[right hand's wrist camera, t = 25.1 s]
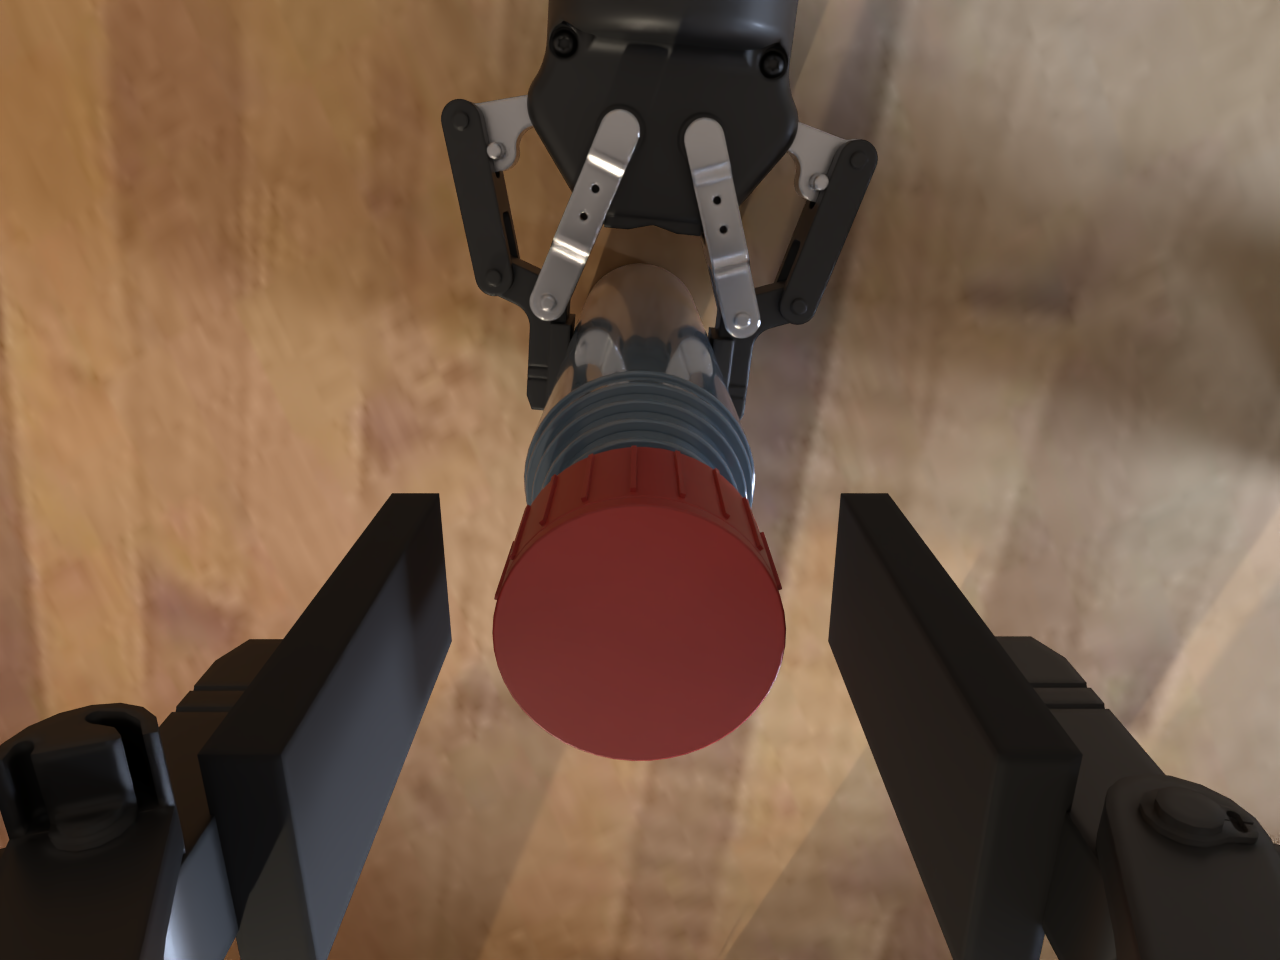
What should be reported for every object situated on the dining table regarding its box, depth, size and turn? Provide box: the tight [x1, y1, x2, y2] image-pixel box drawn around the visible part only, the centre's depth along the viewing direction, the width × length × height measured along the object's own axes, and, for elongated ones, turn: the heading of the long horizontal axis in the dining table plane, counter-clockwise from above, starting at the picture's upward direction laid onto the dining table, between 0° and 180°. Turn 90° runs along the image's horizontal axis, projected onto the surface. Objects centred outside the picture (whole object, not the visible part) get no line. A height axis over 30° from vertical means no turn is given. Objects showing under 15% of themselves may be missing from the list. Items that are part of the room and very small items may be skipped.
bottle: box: [524, 263, 755, 508], centre depth 25 cm, size 5×5×25 cm
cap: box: [493, 446, 786, 761], centre depth 13 cm, size 4×4×2 cm
